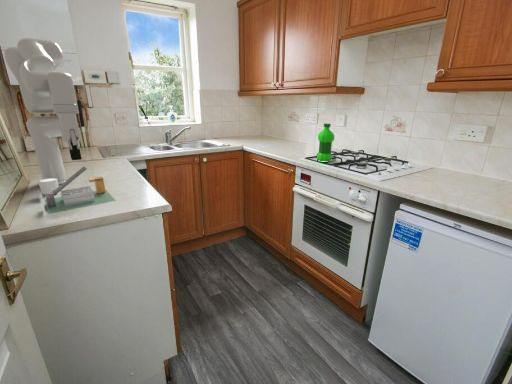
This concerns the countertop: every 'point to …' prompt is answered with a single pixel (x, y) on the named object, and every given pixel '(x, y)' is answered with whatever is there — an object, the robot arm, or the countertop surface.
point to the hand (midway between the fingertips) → (76, 159)
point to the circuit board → (99, 199)
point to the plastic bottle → (325, 144)
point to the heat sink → (72, 197)
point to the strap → (69, 180)
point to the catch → (98, 184)
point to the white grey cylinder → (48, 185)
